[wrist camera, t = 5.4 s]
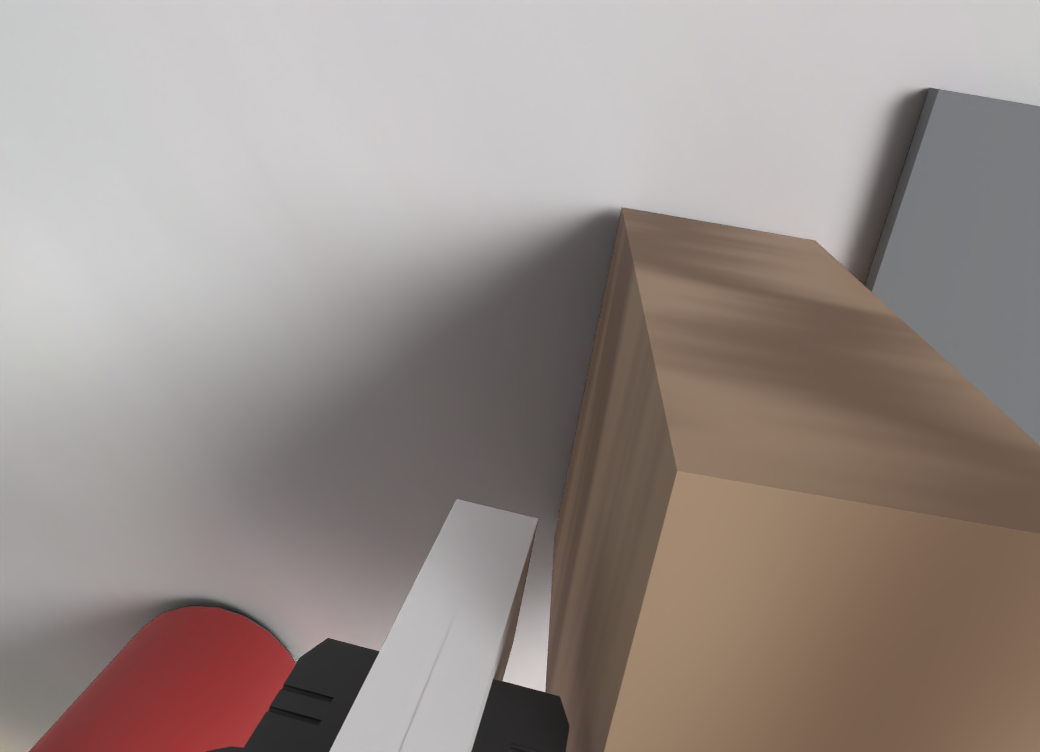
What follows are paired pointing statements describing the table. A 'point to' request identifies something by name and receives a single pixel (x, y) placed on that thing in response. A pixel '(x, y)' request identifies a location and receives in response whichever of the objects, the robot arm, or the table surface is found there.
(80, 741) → the beer can
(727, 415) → the walnut block
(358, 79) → the table surface
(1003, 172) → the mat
